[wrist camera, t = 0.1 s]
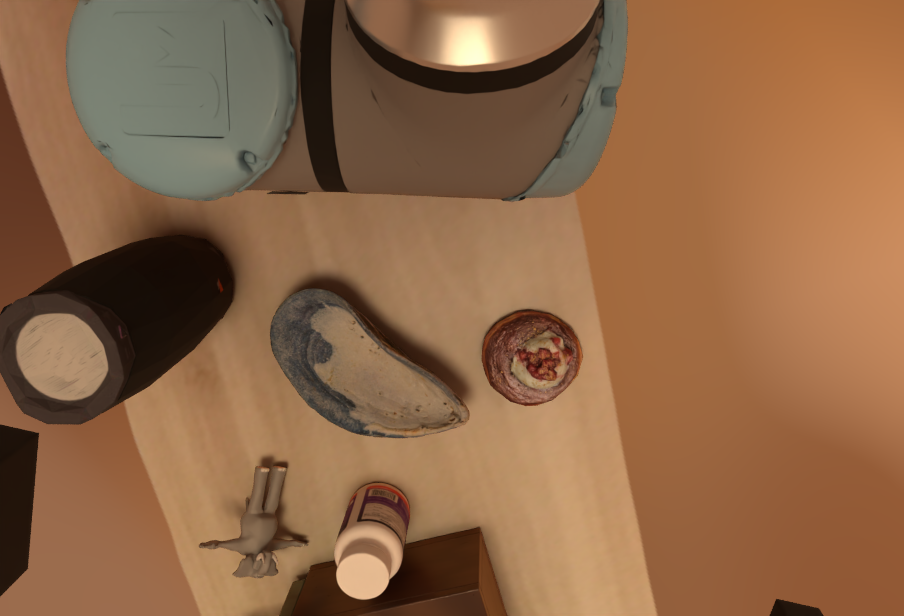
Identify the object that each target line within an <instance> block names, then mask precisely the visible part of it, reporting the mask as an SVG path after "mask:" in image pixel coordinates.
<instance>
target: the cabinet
mask: <svg viewBox="0 0 904 616" xmlns="http://www.w3.org/2000/svg"><path fill="white" fill-rule="evenodd" d="M336 571H337V564H336V562H335V561H331V562H326V563H322V564H317V565H313V566H311V567H310V570H309V573H308V575H307V578H306V581H305V583H304V586H303V588H302V591H301V594H300V596H299V599H298V601H297V604H296V607H295V609H294V612H293V615H292V616H507V614H506V610H505V607H504V604H503V601H502V597H501V594H500V591H499V588H498V584H497V581H496V578H495V575H494V571H493V568H492V565H491V562H490V558H489V555H488V552H487V549H486V545H485V542H484V539H483V536H482V532H481V529H480V528H475V529H471V530H466V531H462V532H458V533H453V534H449V535H445V536H440V537H436V538H431V539H427V540H423V541H418V542H414V543H409V544H405V547H404V552H403V558H402V562H401V565H400V568H399V570H398V571H397V573H396V574H395V575H394V576H393V577H392V578H391V579H389V583H388V585H387V587H386V589H385V590H384V591H383V592H382V593H381V594H380V595H378V596H377V597H375V598H371V599H356V598H353V597H351V596H349V595H347V594H346V593H345V592H344V591H343V590H342V589H341V588H340V586H339V585H338V582H337V578H336Z"/></svg>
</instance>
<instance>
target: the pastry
mask: <svg viewBox="0 0 904 616" xmlns="http://www.w3.org/2000/svg"><path fill="white" fill-rule="evenodd" d="M582 358H583V355H582V351H581V348H580V344H579V341H578V340H577V338H576V336H575V335H574V333H573V332H572V330H571V329H570V328H569V327H568V326H566V325H565V324H564V323H563V322H562V321H561V320H559V319H558V318H556V317H554V316H552V315H551V314H546V313H540V312H535V311H530V310H529V311H522V312H516V313H514V314H513V315H511V316H509V317H507V318H505V319H503V320H501V321H499V322H498V323H496V324H494V326H493V327H492V328H491V330H490V331H489V332H488V334H487V335H486V337H485V340H484V343H483V348H482V363H483V367H484V371H485V374H486V376H487V379H488V381H489V383H490V385H491V386H492V387H493V388H494V389H495V390H496V391H497V392H499V393H500V394H501V395H503V396H504V397H505V398H506V399H508V400H509V401H510V402H514V403H517V404H521V405H524V406H536V405H539V404H542V403H545V402H548V401H551V400H553V399H554V398H556V397H557V396H558V395H559V394H560V393H561V392H563V391H564V390H565V389H566V388H567V387H568V386H569V385H570V384H571V383H572V381H573V380H574V379H575V378H576V377H577V376H578V372H579V369H580V365H581V362H582Z"/></svg>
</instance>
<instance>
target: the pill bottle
mask: <svg viewBox="0 0 904 616" xmlns="http://www.w3.org/2000/svg"><path fill="white" fill-rule="evenodd" d="M409 518H410V507H409V504H408V501H407V499H406V497H405V496H404V495H403V494H402V492H400V491H399V490H398V489H397V488H395V487H393V486H391V485H388V484H385V483H372V484H368V485H365V486H363V487H362V488H360V489H359V490H358V491H357V492H356V493H355V494H354V495H353V496H352V498H351V500H350V502H349V505H348V508H347V511H346V514H345V517H344V520H343V523H342V526H341V529H340V532H339V535H338V538H337V540H336V544H335V549H334V557H335V562H336V564H337V571H336V578H337V582H338V585H339V586H340V588H341V589H342V590H343V591H344V592H345V593H346V594H347V595H349V596H351V597H353V598H356V599H371V598H375V597H377V596H378V595H380V594H381V593H382V592H383V591H384V590H385V589H386V587H387V585H388V583H389V579H391V578H392V577H393V576H394V575H395V574H396V573H397V571H398V570H399V568H400V565H401V562H402V558H403V552H404V547H405V540H406V535H407V529H408V524H409Z"/></svg>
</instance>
